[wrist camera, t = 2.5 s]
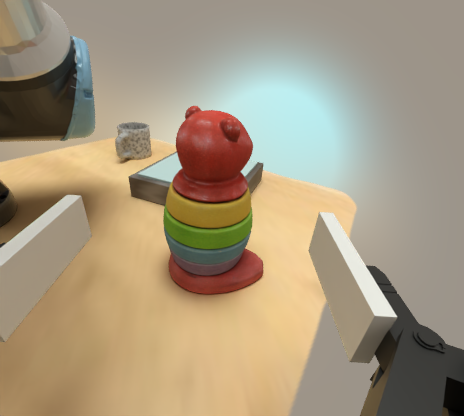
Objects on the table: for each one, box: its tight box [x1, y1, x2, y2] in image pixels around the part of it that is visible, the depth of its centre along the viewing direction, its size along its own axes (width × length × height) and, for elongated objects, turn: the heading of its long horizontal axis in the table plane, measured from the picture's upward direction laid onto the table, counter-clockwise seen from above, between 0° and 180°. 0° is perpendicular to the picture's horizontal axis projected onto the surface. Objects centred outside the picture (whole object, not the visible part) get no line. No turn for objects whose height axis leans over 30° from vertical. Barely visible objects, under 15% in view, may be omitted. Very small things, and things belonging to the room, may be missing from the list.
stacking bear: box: [164, 106, 263, 294], centre depth 26 cm, size 11×10×18 cm
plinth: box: [129, 152, 263, 205], centre depth 47 cm, size 18×18×4 cm
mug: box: [115, 122, 151, 160], centre depth 57 cm, size 10×7×7 cm
